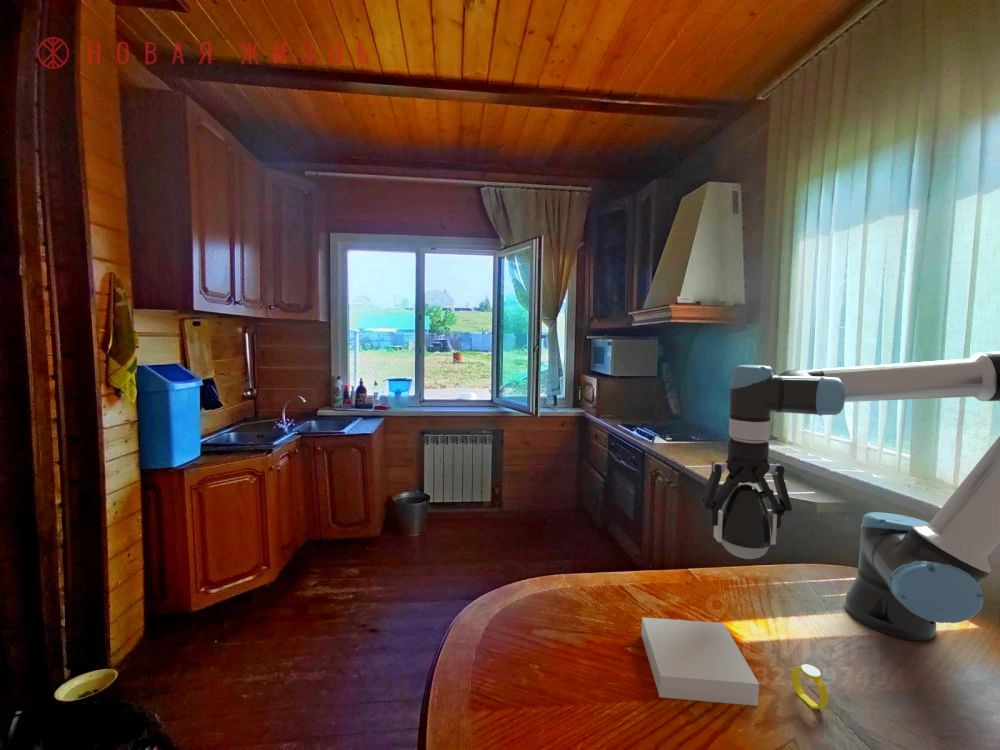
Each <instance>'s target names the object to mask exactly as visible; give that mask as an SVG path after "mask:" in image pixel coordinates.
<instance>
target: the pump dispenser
mask: <svg viewBox="0 0 1000 750" xmlns="http://www.w3.org/2000/svg"><path fill="white" fill-rule="evenodd" d="M770 489H771V491H772V493H773V495H774V494H775V491H774V490H773V489H772V488H770ZM765 497H767V495H766V493H765V492H764V491H761V490H760V491H759V490H758V489H757V488H756V487H755V486H753V485H751V484H750V483H749V484H747V483H739V484H738V486H737V487H735V488H734V489H733V491H732V492H731V494H730V495H729V497H728V498H727V500H726V501H725V503H724V504H723V505H722V508H721V511H722V512H723V523H722V542H721V545H722V546H723V547H724V549H725V550H726V551H727V552H728V553H730V554H731V555H733V556H735V557H738V558H741V559H745V560H755V559H758V558H761V557H763V556H764V555H765V554H766V553H767V552H768V550H769V548H770V546H771V545H772V544H771V543H772V531H771V524H770V518H769V514H768V511H767V510H768V508H767V506H766V503H765V501H764V498H765ZM765 499H766V498H765Z"/></svg>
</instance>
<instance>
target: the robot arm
mask: <svg viewBox="0 0 1000 750" xmlns="http://www.w3.org/2000/svg"><path fill="white" fill-rule="evenodd" d="M730 378H731V379H730V386H729V387H730V388H729V419H728V420H729V421H728V435H729V438H728V442H727V460H726V461H725V462H716V461H712V462H711V473H710V476H709V479H708V481H707V484H706V486H705V489H704V492H703V494H702V498H701V500H700V503H701V505H702V506H703V507H704V508H705V509H706V510H709V522H710V524H711V525H712V526H713V538H714V539H715V540H716V541H717V543H722V523H723V512H722V508H723V506H724V504H725V501H726V500H727V498H728V497H729V495H730V494H731V492H732V491H733V489H734V488H735V487H737V486H738V485H740V484H747V483H749V484H757V486H758V487H759V489H760V492H761V491H764V492H765V493H766V495H767V497H765V499H766V501H767V503H768V505H769V506H770V508H771V509H767V511H768V514H769V518H770V524H771V531H772V543H771V545H776V544H777V529H779V528H781V526H782V516H784V515H785V512H791V511H792V509H793V507H792V503H791V500H790V499H791V498H790V496H789V492H788V488H787V484H786V482H785V481H786V480H785V477H784V474H785V467H784V466H783V465H782V464H780V463H778V462H774V463H769V454H770V453H769V452H770V442H768V440H769V439H770V431H771V430H770V427H771V414H772V413H778V414H780V413H784V414H785V413H786V414H800V415H801V414H803V415H817V416H820V417H822V416H836V415H839V414H841V412H842V411H843V409H844V407H845V403H853V402H854V403H855V402H873V401H874V402H876V401H878V402H879V401H901V400H922V399H923V400H925V399H926V400H927V399H948V398H971V397H973V398H975V399H977V400H978V401H980V402H1000V350H998V351H987V352H976V353H973V354H972V355H971V356H970V357H969V358H961V359H950V360H949V359H948V360H933V361H920V362H906V363H905V362H904V363H902V362H901V363H890V364H877V365H860V366H850V367H849V366H847V367H835V368H831V367H830V368H821V369H805V370H803V369H802V370H799V369H788V370H784V371H781V372H780V373H778V375H777V374H776V375H775V374H774V370H773V368H772V367H771V366H770V365H762V364H760V365H759V364H740V365H736V366H734V367H733V368H732V370H731V377H730ZM726 470H727V471H728V472H729V473H728V474H727V476H726V478H725V481H724V482H723V484H722V485H721V486H720V488H719V489H718V487H719V484H720V482H721V479H722V474H724V472H725V471H726ZM768 472H770V474H772V475H771V477H772V480H773V483H774V487H775V491H776V494H777V498H778V500H777V498H776V497H775V495H774V494H773V493H772V491H771V489H772V488H770V486H769V483H768V482H767V480H766V478H765V477H764V476H765V475H766V474H767V473H768ZM717 490H718V491H717ZM860 528H861V530H860V531H861V532H860V541H859V543H860V545H859V555H858V556H859V557H858V565H857V566H858V567H857V575H856V577H855V579H854V581H853V583H852V585H850V586H851V587H850V588H849V590H848V592H847V593H846V595H845V605H844V606H845V609H846V611H847V612H848V614H850V616H851V617H853V618H854V619H855V620H856V621H858V622H859V623H861V624H862V625H864V626H866V627H868V628H870V629H872V630H875V631H877V632H879V633H882V634H883V635H887V636H891V637H893V638H897V639H901V640H905V641H911V642H912V641H914V642H923V641H924V642H926V641H930V640H933V638H934V637H935V636H936V633H937V623H940V624H944V623H945V624H947V623H950V624H957V623H963V622H965V621H968V620H970V619H972V618H974V617H975V616H976V615H977V614H979V612H980V611H981V609H982V607H983V606H984V596H983V591H982V590H983V589H982V587H981V586H980V585H981V584H982V582H983V581H984V580H985V579H986V578H987V577H988V575H990V573H991V572H992V568H991V566H990V563H989V560H988V556H989V555H990V554H991V553H992V552H993V551H994V549H995V548H996V547H997V546H998V545H999V544H1000V435H999V436H998V438H997V439H996V440H995V441H994V442H993V444H992V445H991V446H990V447H989V449H987V451H986V452H985V454H983V456H982V457H981V459H980V460H979V461H978V462H977V463H976V465H975V466H974V467H973V468H972V470H971V471H970V472H969V473H968V474H967V476H966V477H965V478H964V479H963V480H962V482H961V483H960V485H958V487H957V488H956V489H955V490H954V491H953V493H952V494H951V496H950V497H949V498H948V499H947V501H946V502H944V504H943V506H941V508H940V509H939V510H938V512H937V513H936V514H935V515H934V517H933V518H932V519H931V521H930V522H927V521H925V520H923V519H920V518H916V517H912V516H907V515H902V514H897V513H890V512H883V511H882V512H881V511H880V512H879V511H877V512H876V511H874V512H872V511H871V512H868V513H865V514H864V515H863V517H862V523H861V524H860Z"/></svg>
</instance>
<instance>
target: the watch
mask: <svg viewBox="0 0 1000 750" xmlns="http://www.w3.org/2000/svg"><path fill="white" fill-rule="evenodd" d="M800 672H801V674H802V675H803V676H805V678H808V679H810V680H813V682H814V683H815V685H816V687H817V691H818V694H819V703H818V704H817V703H816V702H815V701H814V700H813V699H811V698H810V697H809V696H808V695H807V694H806V693H805V691H804V689H803V687H802V685H801V680H800ZM821 675H822V673H821V671H820V669H818V668H817V667H815V666H813V665H812V664H811V665H810V664H808V663H807V664H806V663H804V664H802V665H799V666H795V667H794V668H793V669H792V670H791V676H790V677H791V682H792V686H793V689H794V691H795V692H796V695H797V696H798V698H800V699H801V700H803V702H805V703H806V704H807V705H808V706H809V707H810V709H812V710H820V709H824V708H826V707H827V706H828V704H829V692H828V690H827V687H826V685H825V683H824V681H823V679H822V678H821V677H822V676H821Z"/></svg>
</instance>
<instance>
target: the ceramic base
mask: <svg viewBox="0 0 1000 750" xmlns="http://www.w3.org/2000/svg"><path fill="white" fill-rule="evenodd" d="M640 635H641V638H642V641H643V645H644V649H645V652H646V655H647V656H646V657H647V658H648V662H649V665H650V670H651V672H652V676H653V678H654V679H653V680H654V682H655V685H656V688H657V693H658V696H659V698H663V699H664V698H666V699H676V700H688V701H698V702H699V701H700V702H709V703H710V702H711V703H721V704H722V703H723V704H733V705H744V706H757V707H758V706H759V695H760V694H759V692H760V691H759V689H760V683H759V681H758V680H757V678H756V676H755V675H754V673H753V671H752V669H751V668H750V665H749V664H748V663H747V661H746V659H745V657H744V655H743V654H742V652H741V651H740V648H739V647H738V644H737V643H736V642H735V640H734V639H733V637H732V635H731V633H730V632H729V630H728V628H727V627H726V625H725V624H724V622H715V621H699V620H687V619H686V620H685V619H671V618H659V617H658V618H657V617H655V618H654V617H652V618H651V617H641V634H640Z"/></svg>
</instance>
